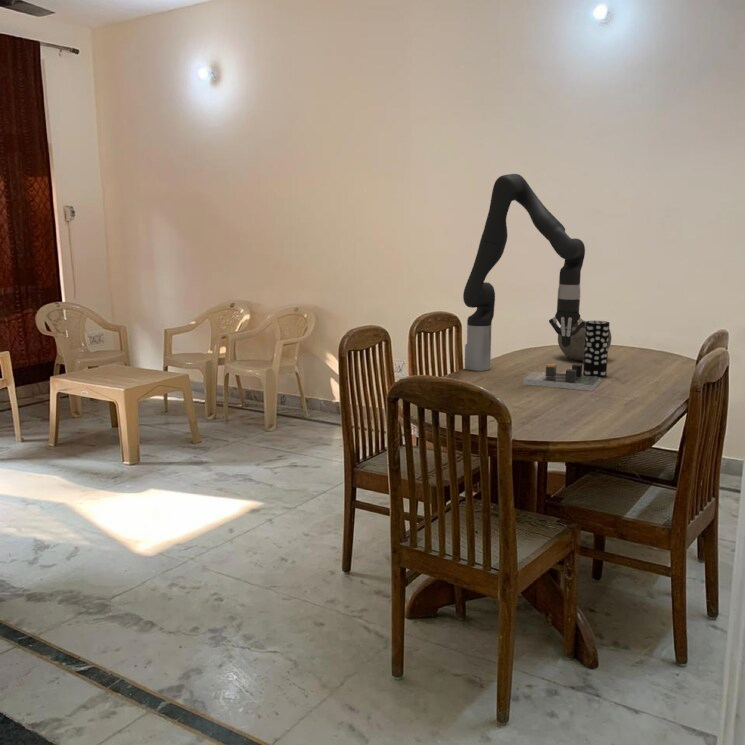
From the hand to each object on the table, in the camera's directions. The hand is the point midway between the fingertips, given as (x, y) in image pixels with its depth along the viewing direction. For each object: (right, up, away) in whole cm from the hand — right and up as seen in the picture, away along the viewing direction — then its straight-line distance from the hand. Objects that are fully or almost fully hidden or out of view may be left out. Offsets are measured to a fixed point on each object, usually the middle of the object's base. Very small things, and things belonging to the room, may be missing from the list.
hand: (565, 346), depth 269 cm
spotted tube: (+14, -11, +15) cm, 24 cm away
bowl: (+19, -4, +46) cm, 50 cm away
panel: (-1, -13, +3) cm, 13 cm away
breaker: (-4, -10, +4) cm, 12 cm away
